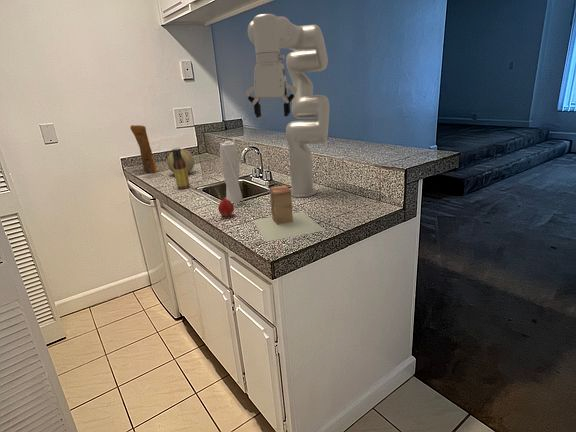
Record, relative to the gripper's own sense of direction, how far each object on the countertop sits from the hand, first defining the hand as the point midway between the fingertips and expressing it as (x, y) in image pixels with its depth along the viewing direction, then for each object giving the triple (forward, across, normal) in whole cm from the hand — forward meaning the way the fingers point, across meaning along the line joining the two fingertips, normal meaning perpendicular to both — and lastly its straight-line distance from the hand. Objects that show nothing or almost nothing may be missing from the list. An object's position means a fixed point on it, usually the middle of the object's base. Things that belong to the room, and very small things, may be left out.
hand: (272, 116), depth 118 cm
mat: (+37, -4, +5) cm, 38 cm away
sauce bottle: (+37, +62, -38) cm, 81 cm away
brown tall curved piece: (+37, +104, -70) cm, 131 cm away
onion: (+37, +22, -2) cm, 43 cm away
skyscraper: (+38, +25, -18) cm, 49 cm away
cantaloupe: (+37, +77, -63) cm, 106 cm away
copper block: (+37, -1, 0) cm, 37 cm away
